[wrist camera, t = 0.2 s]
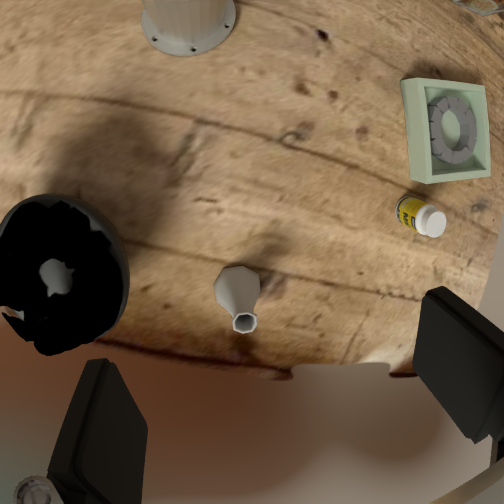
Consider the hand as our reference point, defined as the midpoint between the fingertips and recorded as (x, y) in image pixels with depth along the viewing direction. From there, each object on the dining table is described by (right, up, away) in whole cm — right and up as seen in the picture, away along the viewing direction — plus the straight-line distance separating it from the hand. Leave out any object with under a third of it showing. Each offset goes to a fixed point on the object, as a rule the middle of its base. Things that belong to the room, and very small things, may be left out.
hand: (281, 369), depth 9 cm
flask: (-3, -2, +40) cm, 40 cm away
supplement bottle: (+24, +10, +39) cm, 47 cm away
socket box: (+31, +24, +35) cm, 52 cm away
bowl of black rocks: (-26, +4, +34) cm, 43 cm away
